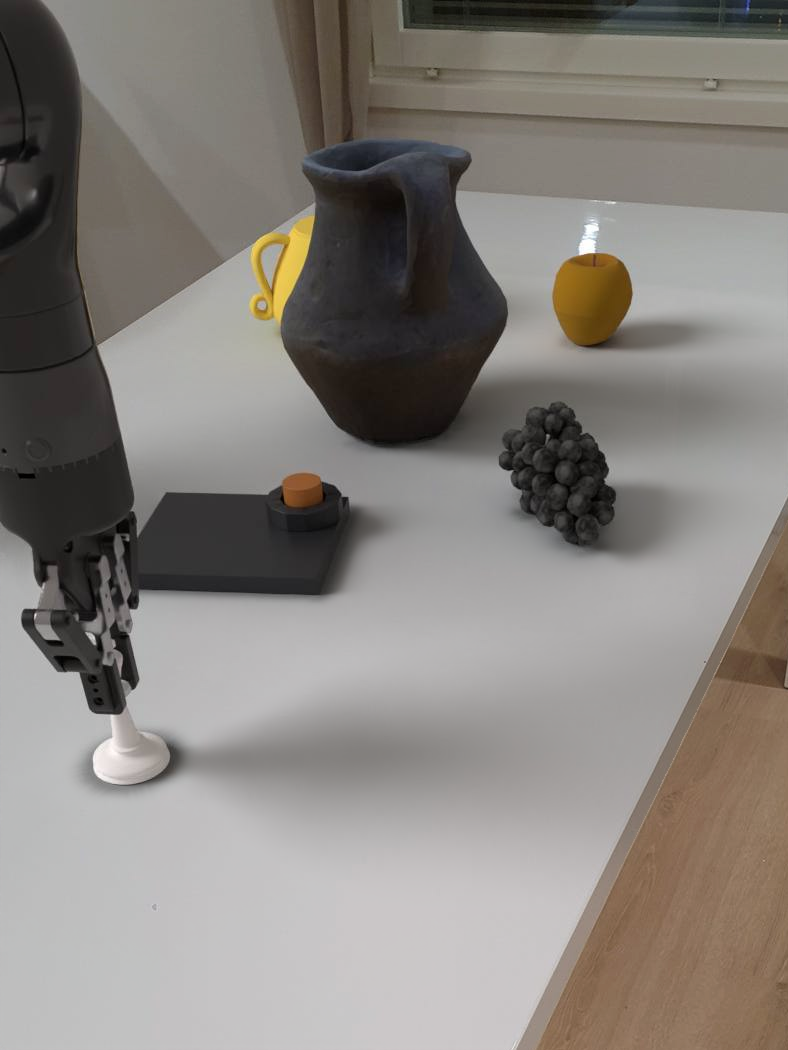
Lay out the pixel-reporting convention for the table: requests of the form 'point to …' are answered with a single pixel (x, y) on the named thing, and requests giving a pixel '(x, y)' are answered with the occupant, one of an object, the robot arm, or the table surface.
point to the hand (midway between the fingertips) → (115, 698)
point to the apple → (591, 297)
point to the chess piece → (128, 747)
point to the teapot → (280, 268)
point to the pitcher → (391, 291)
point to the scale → (240, 542)
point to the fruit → (560, 473)
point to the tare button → (302, 490)
